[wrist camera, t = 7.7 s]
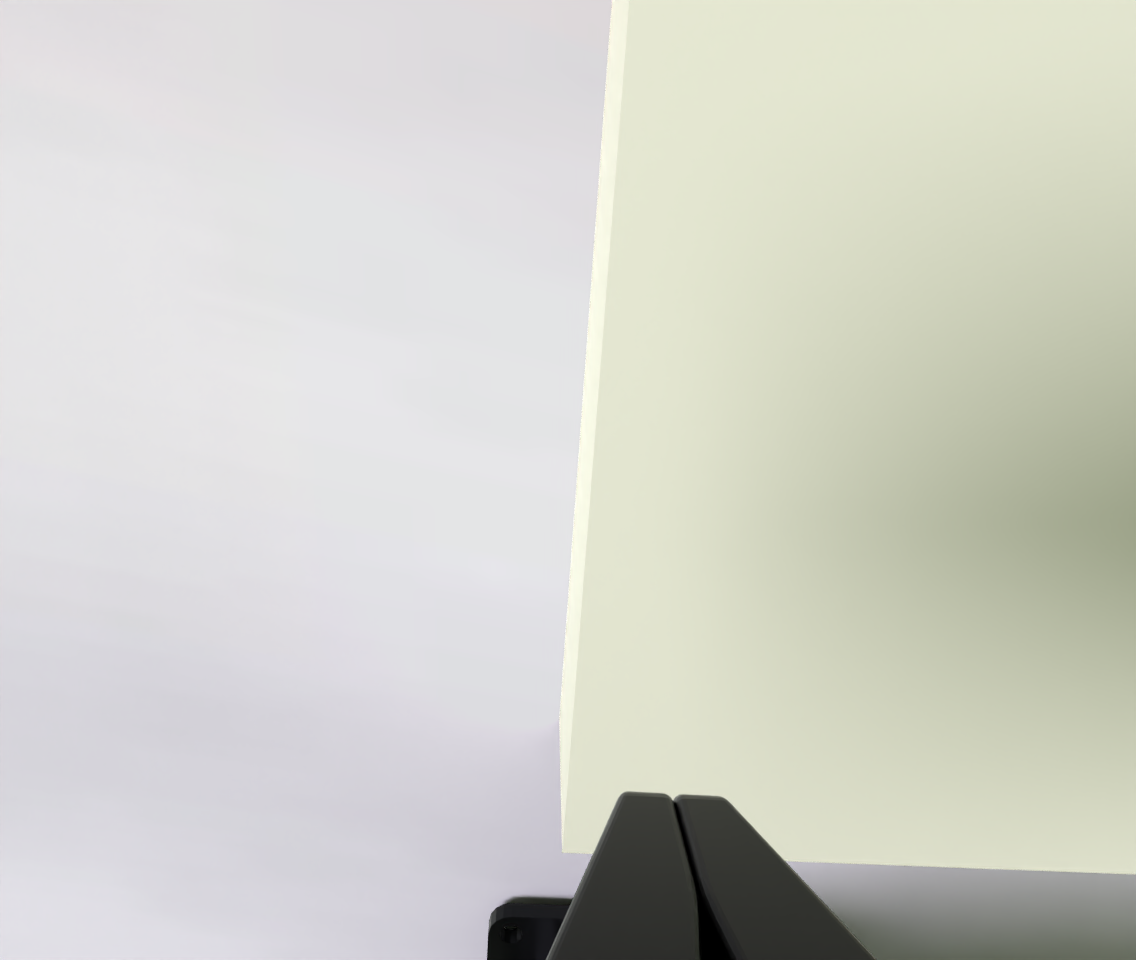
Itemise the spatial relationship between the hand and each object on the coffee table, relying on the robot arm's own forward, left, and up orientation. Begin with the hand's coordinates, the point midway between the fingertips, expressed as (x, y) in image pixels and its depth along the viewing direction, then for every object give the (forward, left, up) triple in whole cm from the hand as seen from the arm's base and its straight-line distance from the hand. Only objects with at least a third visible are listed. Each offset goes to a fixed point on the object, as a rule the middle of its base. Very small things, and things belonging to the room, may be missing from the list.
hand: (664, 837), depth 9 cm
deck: (+3, -6, -12) cm, 14 cm away
